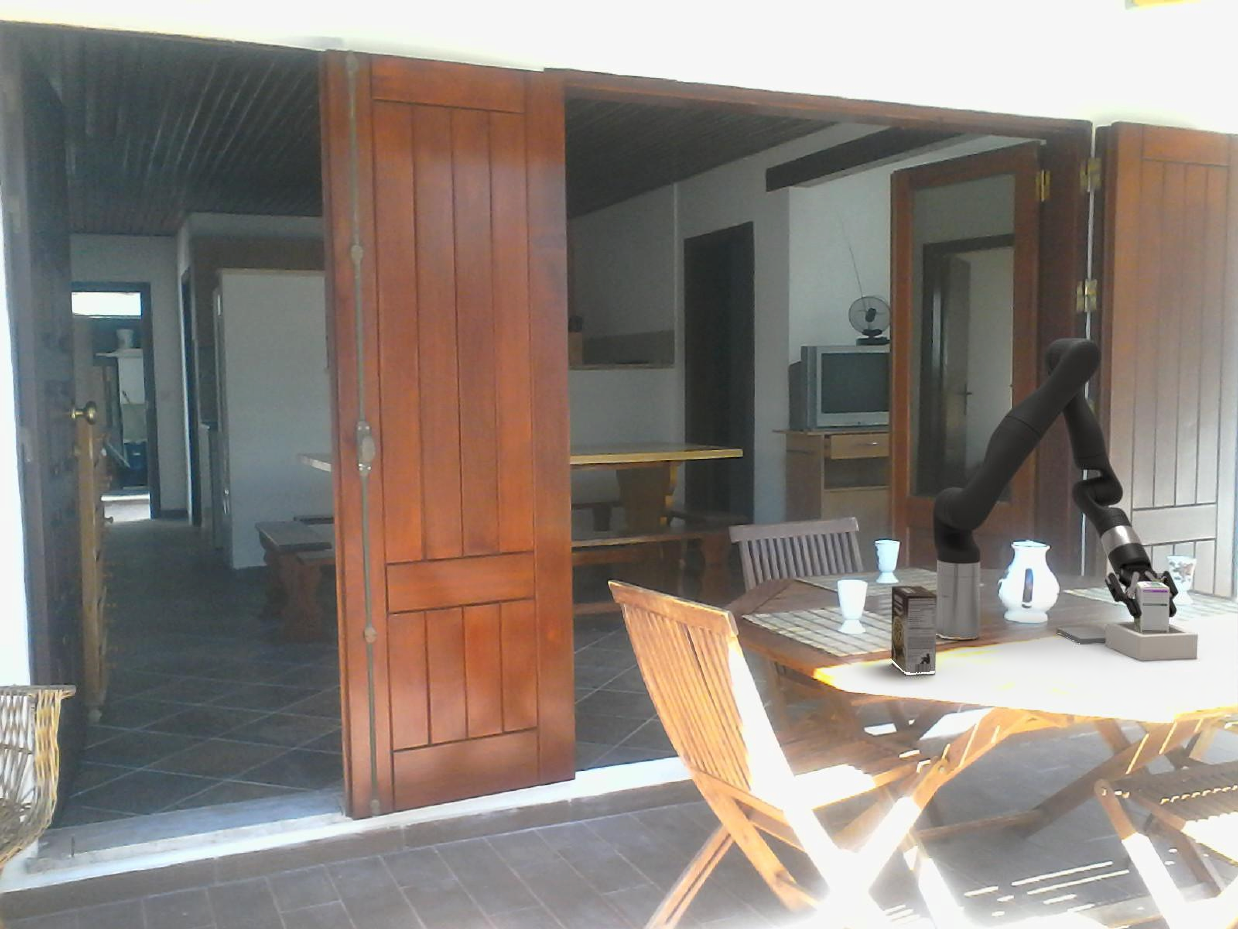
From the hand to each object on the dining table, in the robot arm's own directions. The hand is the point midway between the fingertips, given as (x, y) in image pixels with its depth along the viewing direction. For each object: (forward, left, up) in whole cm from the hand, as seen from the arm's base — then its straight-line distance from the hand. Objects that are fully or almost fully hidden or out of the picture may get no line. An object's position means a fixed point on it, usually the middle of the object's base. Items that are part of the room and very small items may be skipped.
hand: (1155, 616), depth 226 cm
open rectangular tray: (0, +2, -8) cm, 8 cm away
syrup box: (0, +2, -8) cm, 8 cm away
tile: (-6, +15, -8) cm, 18 cm away
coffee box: (-54, -3, -8) cm, 55 cm away
